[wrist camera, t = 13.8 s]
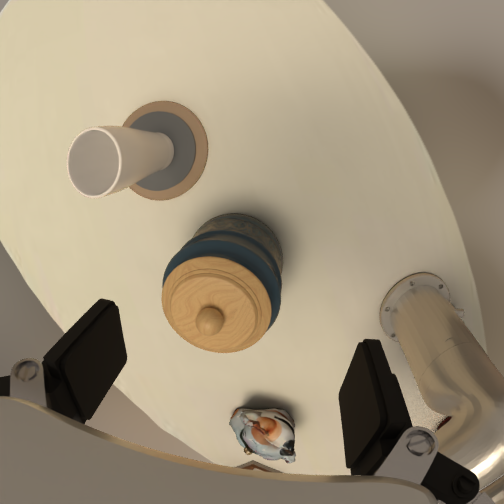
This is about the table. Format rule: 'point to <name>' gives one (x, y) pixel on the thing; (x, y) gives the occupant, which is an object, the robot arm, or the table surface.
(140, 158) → the drinking glass
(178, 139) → the round coaster
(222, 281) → the canister
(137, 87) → the table surface
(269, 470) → the notched white tower
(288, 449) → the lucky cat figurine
